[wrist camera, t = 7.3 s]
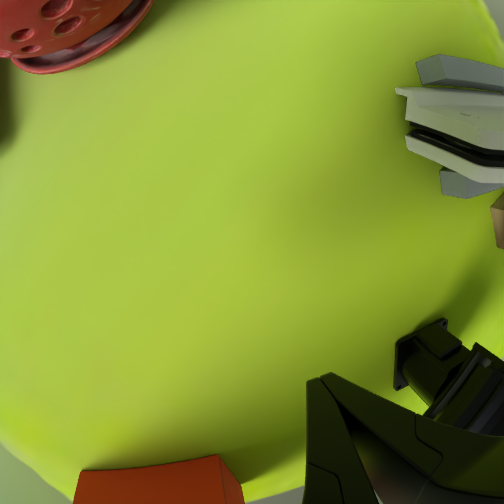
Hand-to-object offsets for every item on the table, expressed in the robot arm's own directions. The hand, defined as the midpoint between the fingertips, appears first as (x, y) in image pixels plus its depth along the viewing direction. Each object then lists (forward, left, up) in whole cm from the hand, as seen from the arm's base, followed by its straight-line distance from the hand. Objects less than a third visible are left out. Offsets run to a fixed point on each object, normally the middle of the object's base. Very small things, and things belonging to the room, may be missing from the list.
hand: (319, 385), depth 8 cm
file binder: (-22, +16, -12) cm, 30 cm away
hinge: (+7, -22, -12) cm, 26 cm away
